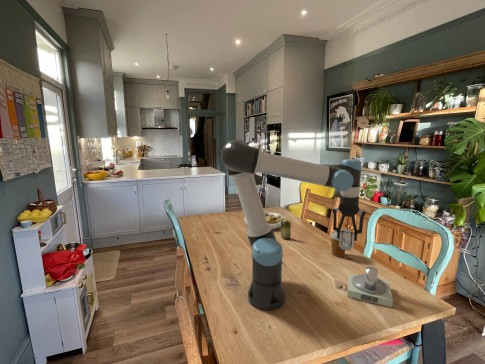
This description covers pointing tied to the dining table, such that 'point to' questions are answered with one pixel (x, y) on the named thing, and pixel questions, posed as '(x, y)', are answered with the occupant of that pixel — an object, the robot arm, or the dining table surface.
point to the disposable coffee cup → (336, 245)
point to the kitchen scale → (369, 291)
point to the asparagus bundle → (285, 229)
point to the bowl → (273, 219)
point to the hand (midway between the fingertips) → (346, 246)
